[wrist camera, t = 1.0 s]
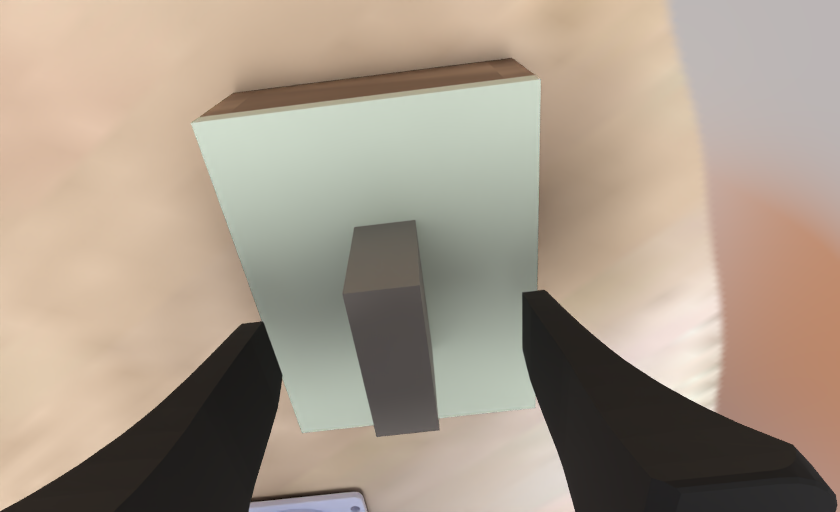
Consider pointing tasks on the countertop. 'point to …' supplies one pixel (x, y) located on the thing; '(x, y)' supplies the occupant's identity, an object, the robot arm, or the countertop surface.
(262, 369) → the robot arm
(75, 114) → the countertop surface
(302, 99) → the box
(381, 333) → the lid
